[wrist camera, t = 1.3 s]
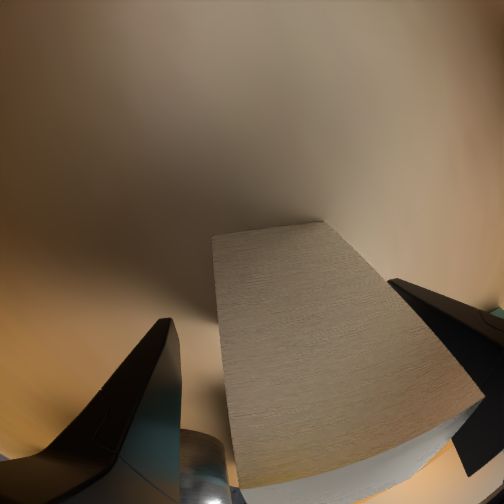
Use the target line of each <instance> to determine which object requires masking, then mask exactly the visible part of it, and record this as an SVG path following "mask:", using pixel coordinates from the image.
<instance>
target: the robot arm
mask: <svg viewBox="0 0 504 504" xmlns="http://www.w3.org/2000/svg"><path fill="white" fill-rule="evenodd" d="M387 283H388V284H389V285H390V286H391V287H392V288H393V289H394V290H395V291H396V292H397V293H398V294H399V295H400V296H401V297H402V298H403V300H404V301H405V302H406V303H407V304H408V305H409V306H410V307H411V308H412V309H413V310H414V311H415V313H416V314H417V315H418V316H419V317H420V318H421V319H422V320H423V321H424V323H425V324H426V325H427V326H428V327H429V328H430V329H431V330H432V332H433V333H434V334H435V335H436V336H437V337H438V338H439V340H440V341H441V342H442V343H443V344H444V346H445V347H446V348H447V349H448V350H449V351H450V353H451V354H452V355H453V356H454V357H455V359H456V360H457V361H458V362H459V364H460V365H461V366H462V367H463V368H464V370H465V371H466V372H467V374H468V375H469V376H470V377H471V379H472V380H473V381H474V382H475V384H476V385H477V386H478V388H479V389H480V390H481V392H482V393H483V394H484V396H485V397H484V399H483V400H482V401H481V403H480V404H479V405H478V407H477V408H476V409H475V410H474V412H473V413H472V414H471V415H470V417H469V418H468V419H467V420H466V422H465V423H464V424H463V425H462V426H461V427H460V429H459V430H458V431H457V432H456V433H455V434H454V435H453V437H452V438H451V439H452V442H453V444H454V446H455V448H456V450H457V453H458V455H459V457H460V460H461V462H462V464H463V467H464V469H465V472H466V474H467V476H468V477H470V476H471V475H473V474H474V473H475V472H477V471H478V470H479V469H481V468H482V467H483V466H484V465H486V464H487V463H488V462H489V461H491V460H492V459H493V458H494V457H495V456H497V455H498V454H499V453H500V452H501V451H502V452H503V453H504V319H503V318H501V317H498V316H495V315H492V314H490V313H487V312H485V311H482V310H480V309H479V310H478V309H477V308H474V307H472V306H469V305H467V304H464V303H462V302H459V301H457V300H454V299H451V298H449V297H446V296H444V295H441V294H438V293H436V292H433V291H431V290H428V289H425V288H423V287H420V286H417V285H415V284H412V283H409V282H407V281H404V280H401V279H399V278H395V279H390V280H388V281H387ZM181 396H182V376H181V361H180V344H179V338H178V334H177V331H176V328H175V325H174V322H173V319H172V318H161V319H159V320H157V322H156V323H155V324H154V325H153V326H152V328H151V329H150V330H149V331H148V332H147V333H146V335H145V336H144V337H143V338H142V339H141V341H140V342H139V343H138V344H137V345H136V347H135V348H134V349H133V350H132V351H131V353H130V354H129V355H128V356H127V357H126V359H125V360H124V361H123V362H122V363H121V365H120V366H119V367H118V368H117V370H116V371H115V372H114V373H113V374H112V376H111V377H110V378H109V379H108V381H107V382H106V383H105V384H104V385H103V387H102V388H101V390H99V391H98V393H97V394H96V395H95V396H94V398H93V399H92V400H91V401H90V402H89V404H88V405H87V406H86V407H85V408H84V409H83V411H82V412H81V413H80V414H79V415H78V416H77V417H76V418H75V419H74V420H73V421H72V422H71V423H70V424H69V425H68V426H67V427H66V428H65V429H64V430H63V431H62V432H61V433H60V434H59V435H58V436H57V437H56V438H55V439H54V441H53V442H52V443H51V444H50V445H49V446H47V447H46V448H45V449H44V450H42V451H41V452H39V453H37V454H35V455H32V456H29V457H24V458H18V459H13V460H6V461H0V504H180V481H179V465H180V419H181ZM479 504H504V480H503V484H502V485H501V486H500V487H499V488H498V489H496V490H495V491H494V492H493V493H492V494H491V495H489V496H488V497H487V498H486V499H484V500H483V501H482V502H481V503H479Z"/></svg>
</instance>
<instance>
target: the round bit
mask: <svg viewBox="0 0 504 504" xmlns="http://www.w3.org/2000/svg"><path fill="white" fill-rule="evenodd" d="M179 481H180V504H232V500H231V493H230V487H229V480H228V472H227V465H226V457H225V449H224V445H223V444H222V442H221V441H219V440H218V439H216V438H215V437H213V436H210V435H208V434H204V433H201V432H197V431H192V430H185V429H180V465H179Z"/></svg>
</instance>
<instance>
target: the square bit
mask: <svg viewBox="0 0 504 504" xmlns="http://www.w3.org/2000/svg"><path fill="white" fill-rule="evenodd" d="M212 250H213V264H214V278H215V290H216V302H217V313H218V324H219V334H220V344H221V354H222V363H223V372H224V381H225V390H226V398H227V406H228V414H229V421H230V429H231V436H232V443H233V450H234V457H235V463H236V470H237V476H238V482H239V489H240V491H241V493H242V495H243V497H244V499H245V501H246V503H247V504H350V503H353V502H356V501H359V500H361V499H364V498H367V497H369V496H372V495H374V494H377V493H379V492H381V491H384V490H386V489H388V488H391V487H393V486H395V485H397V484H399V483H401V482H403V481H406V480H408V479H410V478H411V477H412V476H413V475H414V474H415V473H416V472H418V471H419V470H420V469H421V468H422V467H423V466H424V465H425V464H426V463H427V462H428V461H429V460H430V459H431V458H432V457H433V456H434V455H435V454H436V453H437V452H438V451H439V450H440V449H441V448H442V447H443V446H444V445H445V444H446V443H447V442H448V441H449V440H450V439H451V438H452V437H453V435H454V434H455V433H456V432H457V431H458V430H459V429H460V427H461V426H462V425H463V424H464V423H465V422H466V420H467V419H468V418H469V417H470V415H471V414H472V413H473V412H474V410H475V409H476V408H477V407H478V405H479V404H480V403H481V401H482V400H483V399H484V397H485V396H484V394H483V393H482V392H481V390H480V389H479V388H478V386H477V385H476V384H475V382H474V381H473V380H472V379H471V377H470V376H469V375H468V374H467V372H466V371H465V370H464V368H463V367H462V366H461V365H460V364H459V362H458V361H457V360H456V359H455V357H454V356H453V355H452V354H451V353H450V351H449V350H448V349H447V348H446V347H445V346H444V344H443V343H442V342H441V341H440V340H439V338H438V337H437V336H436V335H435V334H434V333H433V332H432V330H431V329H430V328H429V327H428V326H427V325H426V324H425V323H424V321H423V320H422V319H421V318H420V317H419V316H418V315H417V314H416V313H415V311H414V310H413V309H412V308H411V307H410V306H409V305H408V304H407V303H406V302H405V301H404V300H403V298H402V297H401V296H400V295H399V294H398V293H397V292H396V291H395V290H394V289H393V288H392V287H391V286H390V285H389V284H388V283H387V282H386V281H385V280H384V279H383V278H382V277H381V275H380V274H379V273H378V272H377V271H376V270H375V269H374V268H373V267H372V266H371V265H370V264H369V263H368V262H367V261H366V260H365V259H364V258H363V257H362V256H361V255H360V254H359V253H357V252H356V251H355V250H354V249H353V248H352V247H351V246H350V245H349V244H348V243H347V242H346V241H345V240H344V239H343V238H342V237H341V236H340V235H339V234H338V233H337V232H336V231H335V230H333V229H332V228H331V227H330V226H329V225H328V224H327V223H326V222H325V221H321V222H313V223H305V224H297V225H289V226H281V227H273V228H266V229H258V230H251V231H243V232H236V233H229V234H221V235H214V236H212Z"/></svg>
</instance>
